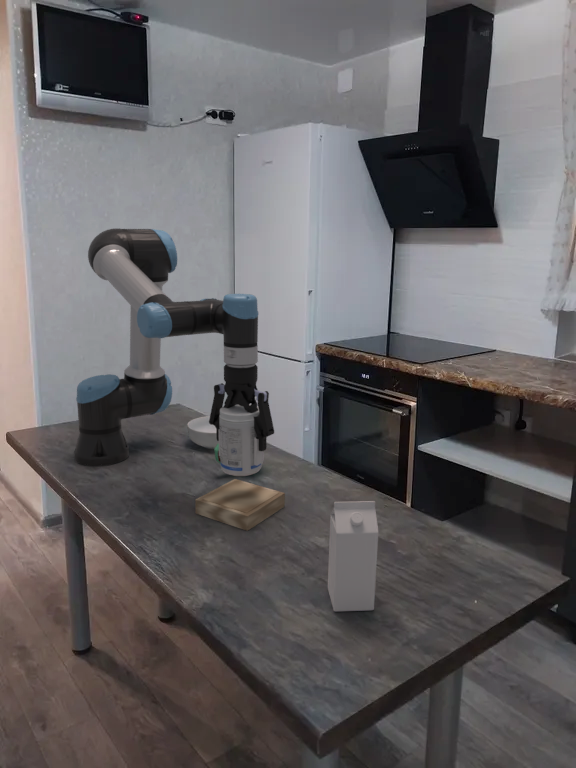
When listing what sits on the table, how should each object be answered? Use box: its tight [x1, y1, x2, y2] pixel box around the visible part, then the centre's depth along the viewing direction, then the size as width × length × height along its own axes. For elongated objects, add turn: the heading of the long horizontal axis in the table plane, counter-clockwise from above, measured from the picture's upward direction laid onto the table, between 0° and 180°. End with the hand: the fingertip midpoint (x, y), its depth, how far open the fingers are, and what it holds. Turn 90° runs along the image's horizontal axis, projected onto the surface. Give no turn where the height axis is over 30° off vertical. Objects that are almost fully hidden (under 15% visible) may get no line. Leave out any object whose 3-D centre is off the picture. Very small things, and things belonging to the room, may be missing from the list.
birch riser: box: [194, 478, 286, 532], centre depth 142 cm, size 15×15×4 cm
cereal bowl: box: [186, 415, 219, 450], centre depth 185 cm, size 17×17×7 cm
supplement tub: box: [219, 404, 263, 477], centre depth 138 cm, size 10×10×15 cm
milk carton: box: [327, 500, 379, 612], centre depth 105 cm, size 7×7×19 cm
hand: (241, 459), depth 139 cm, fingers closed on supplement tub, 9 cm apart
